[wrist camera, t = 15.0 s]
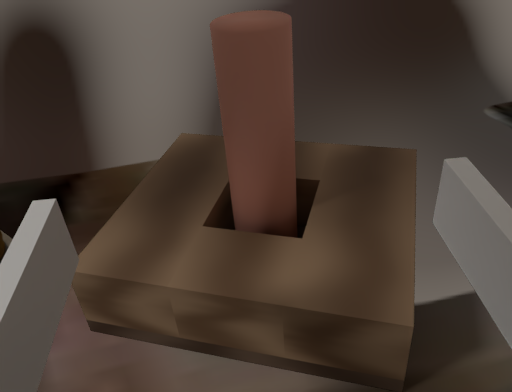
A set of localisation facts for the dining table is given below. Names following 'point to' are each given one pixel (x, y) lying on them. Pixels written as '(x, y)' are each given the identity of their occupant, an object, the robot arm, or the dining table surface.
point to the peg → (258, 118)
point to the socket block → (265, 264)
